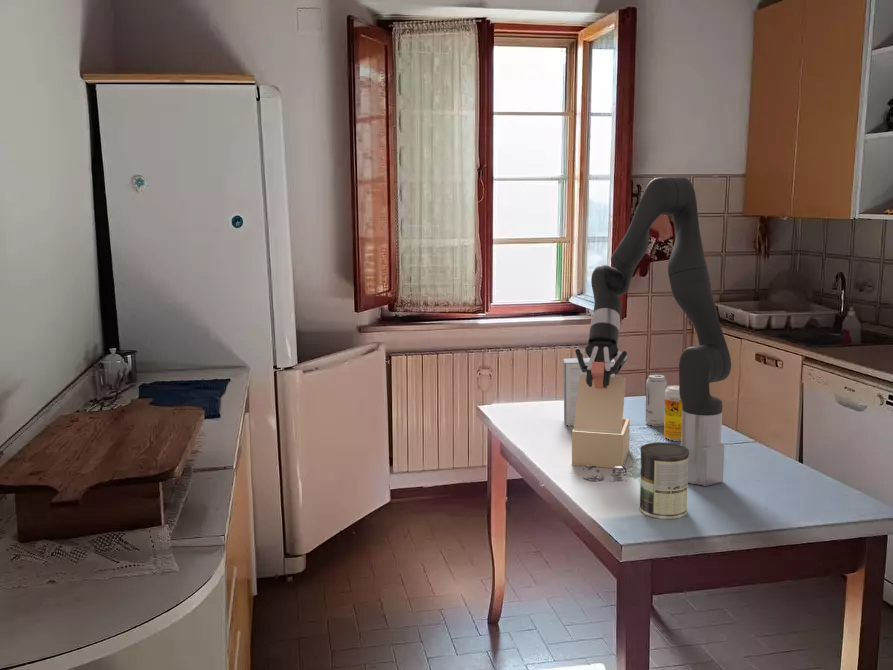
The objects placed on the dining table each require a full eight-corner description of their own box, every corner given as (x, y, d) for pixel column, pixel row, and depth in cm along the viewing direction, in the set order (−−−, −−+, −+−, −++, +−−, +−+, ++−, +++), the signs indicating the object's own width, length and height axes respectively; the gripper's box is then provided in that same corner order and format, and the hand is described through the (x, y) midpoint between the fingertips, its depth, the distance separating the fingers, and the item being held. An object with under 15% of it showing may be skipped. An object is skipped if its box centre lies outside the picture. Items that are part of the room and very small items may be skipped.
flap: (579, 376, 214) (574, 359, 205) (625, 378, 210) (622, 361, 201) (574, 431, 208) (568, 415, 198) (621, 434, 204) (617, 418, 195)
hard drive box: (613, 420, 251) (614, 357, 248) (615, 426, 243) (616, 362, 240) (563, 419, 253) (563, 357, 249) (564, 426, 245) (564, 362, 242)
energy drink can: (642, 421, 248) (643, 374, 246) (661, 421, 249) (663, 373, 246) (648, 427, 242) (649, 378, 240) (668, 426, 243) (669, 378, 240)
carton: (581, 446, 224) (581, 415, 223) (629, 450, 220) (629, 418, 219) (571, 464, 209) (572, 431, 208) (622, 469, 205) (623, 435, 204)
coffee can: (630, 512, 177) (632, 450, 175) (651, 498, 185) (652, 439, 182) (675, 523, 170) (677, 459, 168) (694, 508, 178) (697, 447, 176)
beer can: (664, 441, 228) (665, 389, 226) (663, 434, 234) (665, 384, 232) (686, 442, 227) (688, 390, 224) (685, 436, 233) (686, 385, 230)
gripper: (576, 320, 211) (567, 376, 202) (630, 322, 206) (624, 379, 197) (579, 336, 217) (571, 391, 208) (632, 338, 212) (626, 395, 203)
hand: (597, 385), depth 203 cm, fingers closed on flap, 3 cm apart
